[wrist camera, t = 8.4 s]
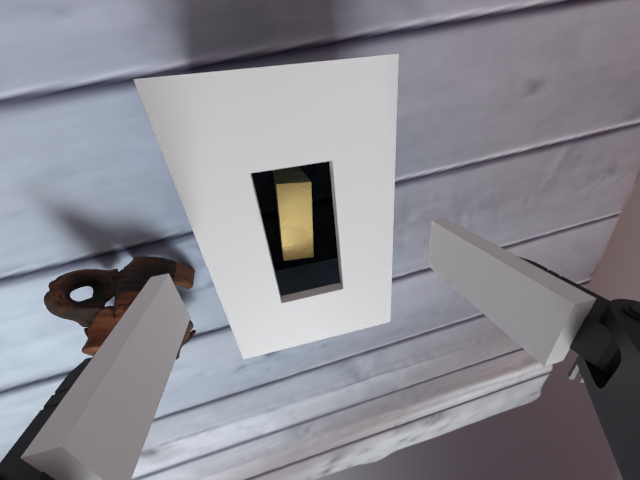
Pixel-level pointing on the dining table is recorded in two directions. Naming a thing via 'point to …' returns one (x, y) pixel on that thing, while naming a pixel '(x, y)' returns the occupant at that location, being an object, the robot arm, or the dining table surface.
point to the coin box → (276, 153)
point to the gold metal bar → (294, 212)
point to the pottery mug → (111, 295)
